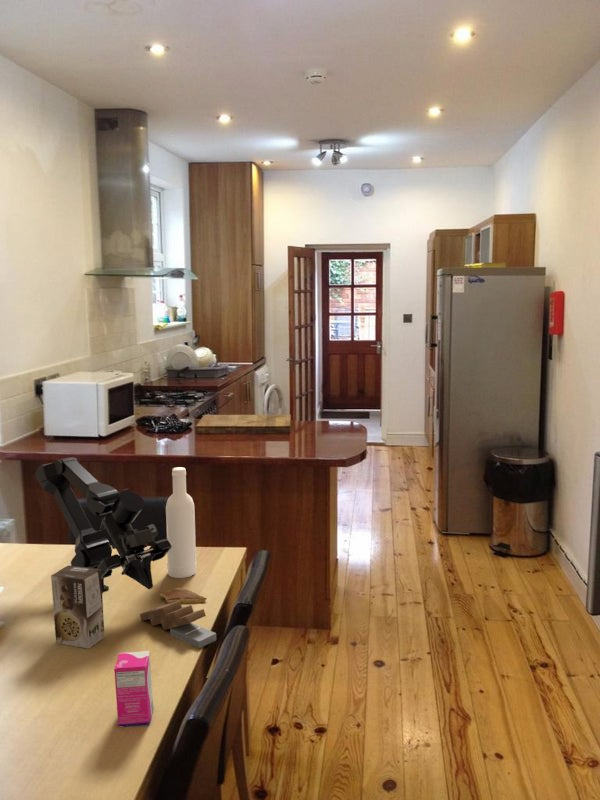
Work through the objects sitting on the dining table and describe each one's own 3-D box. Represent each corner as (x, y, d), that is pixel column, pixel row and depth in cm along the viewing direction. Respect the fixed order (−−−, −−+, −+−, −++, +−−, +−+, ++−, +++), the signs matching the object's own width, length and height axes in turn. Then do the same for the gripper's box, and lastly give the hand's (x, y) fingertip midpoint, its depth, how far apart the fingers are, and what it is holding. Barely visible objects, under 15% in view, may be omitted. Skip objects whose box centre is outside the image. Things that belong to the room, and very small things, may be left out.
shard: (207, 603, 179) (207, 596, 179) (182, 613, 173) (182, 606, 173) (181, 592, 186) (180, 585, 186) (156, 600, 181) (156, 594, 180)
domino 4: (170, 628, 161) (199, 641, 154) (187, 620, 165) (216, 633, 158) (170, 635, 161) (199, 648, 155) (187, 627, 165) (216, 640, 158)
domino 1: (139, 614, 168) (163, 607, 162) (156, 607, 172) (179, 600, 166) (141, 621, 168) (165, 614, 162) (158, 614, 172) (182, 607, 166)
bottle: (201, 573, 197) (199, 468, 193) (177, 580, 192) (173, 473, 188) (186, 565, 203) (183, 463, 199) (162, 572, 198) (158, 468, 194)
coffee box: (105, 636, 161) (102, 568, 158) (88, 649, 155) (85, 579, 152) (72, 630, 164) (68, 564, 161) (54, 643, 157) (50, 574, 155)
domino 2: (150, 618, 166) (174, 611, 159) (166, 611, 170) (191, 604, 163) (152, 625, 166) (176, 619, 159) (169, 618, 169) (193, 611, 163)
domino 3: (161, 623, 163) (186, 616, 157) (177, 616, 167) (203, 608, 161) (163, 630, 163) (189, 623, 157) (180, 623, 167) (205, 616, 160)
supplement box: (121, 709, 132) (119, 651, 130) (154, 707, 132) (151, 650, 131) (116, 727, 126) (113, 667, 124) (150, 725, 127) (147, 666, 125)
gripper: (101, 525, 163) (131, 583, 157) (166, 507, 177) (196, 560, 171) (84, 550, 169) (112, 607, 163) (148, 531, 183) (176, 582, 177)
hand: (150, 588), depth 169 cm, fingers closed
